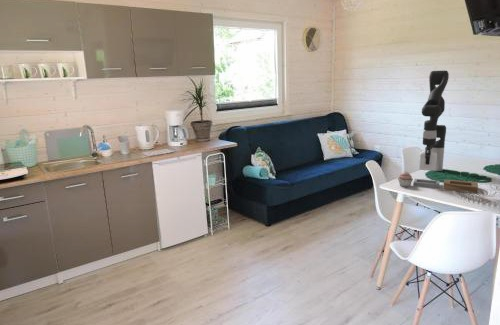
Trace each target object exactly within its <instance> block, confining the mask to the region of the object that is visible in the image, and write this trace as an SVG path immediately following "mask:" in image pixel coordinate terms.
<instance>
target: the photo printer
mask: <svg viewBox="0 0 500 325" xmlns="http://www.w3.org/2000/svg"><path fill="white" fill-rule="evenodd" d="M427 156H428V157H429V155H427ZM418 157H419V160H418V171H419V170H420V171H432V172H437V171H436V167H437V153H436V152H433V151H431V155H430V162H429V165H427V164H425V163H426V158H425V150H423V151H421V152H420V153H419V156H418Z"/></svg>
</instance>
